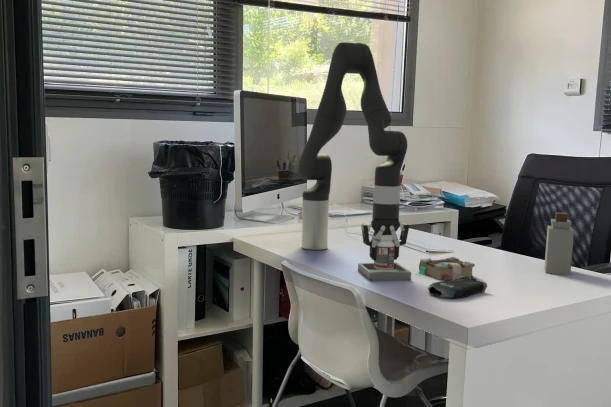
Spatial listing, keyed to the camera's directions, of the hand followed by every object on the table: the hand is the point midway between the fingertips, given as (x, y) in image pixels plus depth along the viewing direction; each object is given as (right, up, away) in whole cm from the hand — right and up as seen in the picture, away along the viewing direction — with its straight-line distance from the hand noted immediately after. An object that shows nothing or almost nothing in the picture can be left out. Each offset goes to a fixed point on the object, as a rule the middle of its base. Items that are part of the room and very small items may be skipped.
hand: (383, 259), depth 165 cm
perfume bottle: (+54, -5, +10) cm, 55 cm away
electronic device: (+16, -8, -16) cm, 24 cm away
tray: (0, -5, 0) cm, 5 cm away
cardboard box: (+18, -6, +2) cm, 19 cm away
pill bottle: (0, -3, 0) cm, 3 cm away
